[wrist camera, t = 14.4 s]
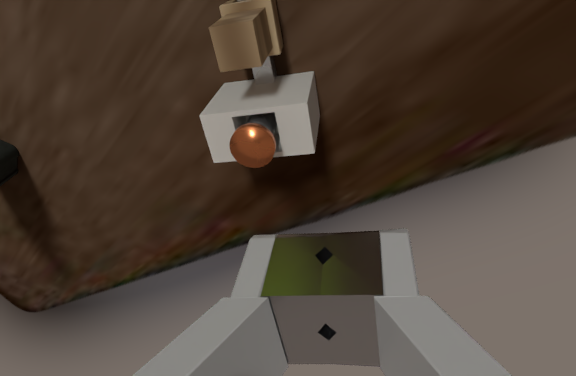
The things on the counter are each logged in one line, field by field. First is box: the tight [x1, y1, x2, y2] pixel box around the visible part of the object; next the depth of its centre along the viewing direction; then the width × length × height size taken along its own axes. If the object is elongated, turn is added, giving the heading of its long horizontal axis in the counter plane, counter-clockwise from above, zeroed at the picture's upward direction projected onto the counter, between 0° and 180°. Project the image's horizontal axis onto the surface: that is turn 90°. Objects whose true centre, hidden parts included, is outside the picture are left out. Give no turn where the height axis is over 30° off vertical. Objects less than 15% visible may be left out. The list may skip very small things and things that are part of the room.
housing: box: [199, 71, 320, 163], centre depth 41 cm, size 10×5×9 cm, turn 100°
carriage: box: [209, 0, 283, 72], centre depth 36 cm, size 5×5×9 cm
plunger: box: [229, 112, 277, 168], centre depth 37 cm, size 4×4×6 cm
